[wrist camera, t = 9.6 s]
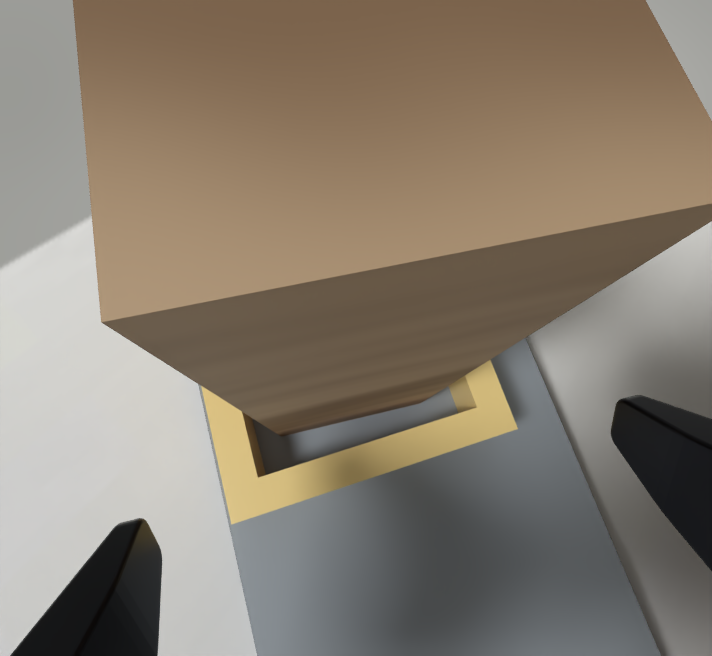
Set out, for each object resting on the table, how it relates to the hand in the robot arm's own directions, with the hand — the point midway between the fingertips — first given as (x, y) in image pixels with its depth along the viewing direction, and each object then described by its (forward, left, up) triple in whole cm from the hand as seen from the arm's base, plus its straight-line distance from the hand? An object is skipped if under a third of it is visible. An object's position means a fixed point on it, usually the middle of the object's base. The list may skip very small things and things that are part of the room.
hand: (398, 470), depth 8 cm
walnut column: (+4, 0, -7) cm, 8 cm away
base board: (-2, -1, -8) cm, 9 cm away
